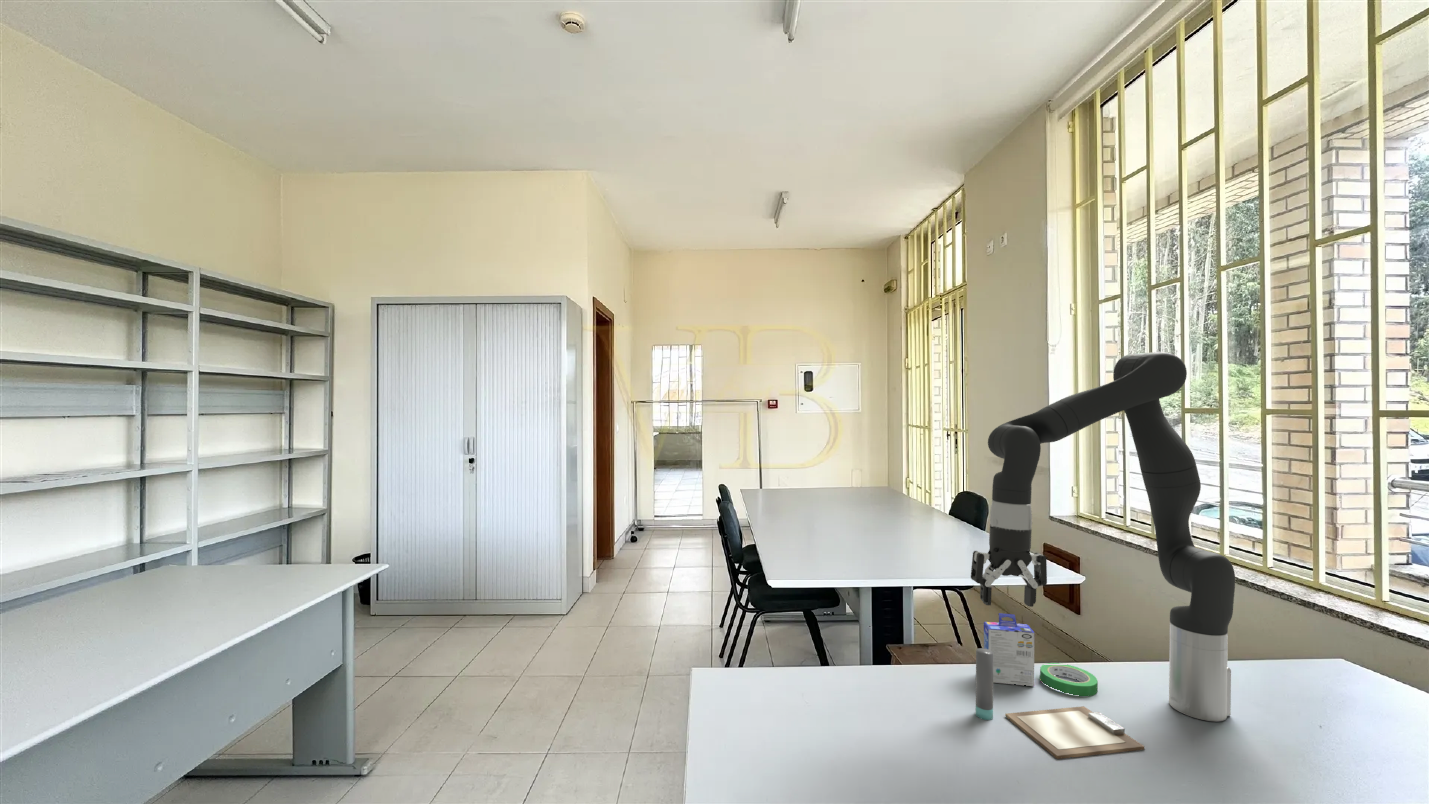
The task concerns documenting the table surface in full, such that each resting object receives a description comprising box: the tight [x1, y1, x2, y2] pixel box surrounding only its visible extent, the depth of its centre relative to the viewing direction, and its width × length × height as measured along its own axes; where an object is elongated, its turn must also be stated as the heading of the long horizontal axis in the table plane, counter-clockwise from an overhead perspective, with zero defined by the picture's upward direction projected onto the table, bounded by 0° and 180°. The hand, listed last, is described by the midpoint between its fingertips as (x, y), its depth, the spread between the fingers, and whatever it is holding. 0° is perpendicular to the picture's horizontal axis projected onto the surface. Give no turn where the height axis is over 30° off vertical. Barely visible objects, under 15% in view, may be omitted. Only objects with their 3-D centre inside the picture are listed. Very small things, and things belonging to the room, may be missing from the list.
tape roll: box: [1039, 662, 1099, 697], centre depth 131 cm, size 11×11×3 cm
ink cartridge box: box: [983, 612, 1035, 687], centre depth 133 cm, size 10×6×14 cm, turn 78°
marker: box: [975, 647, 994, 721], centre depth 118 cm, size 3×3×13 cm
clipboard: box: [1004, 705, 1145, 760], centre depth 112 cm, size 18×14×2 cm
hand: (1007, 604), depth 117 cm, fingers open, 8 cm apart
